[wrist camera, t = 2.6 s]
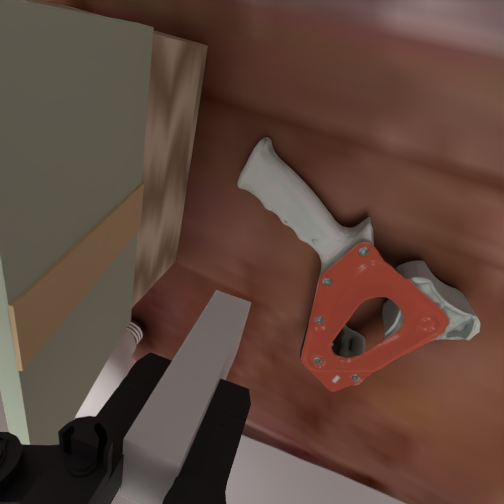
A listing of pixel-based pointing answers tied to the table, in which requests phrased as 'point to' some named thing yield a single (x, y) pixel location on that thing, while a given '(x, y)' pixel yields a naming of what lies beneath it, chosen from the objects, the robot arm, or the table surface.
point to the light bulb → (112, 371)
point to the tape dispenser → (354, 282)
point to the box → (165, 150)
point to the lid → (66, 204)
